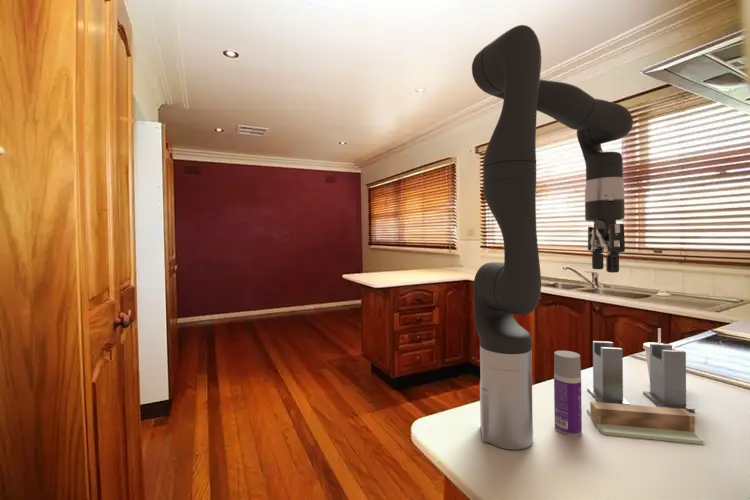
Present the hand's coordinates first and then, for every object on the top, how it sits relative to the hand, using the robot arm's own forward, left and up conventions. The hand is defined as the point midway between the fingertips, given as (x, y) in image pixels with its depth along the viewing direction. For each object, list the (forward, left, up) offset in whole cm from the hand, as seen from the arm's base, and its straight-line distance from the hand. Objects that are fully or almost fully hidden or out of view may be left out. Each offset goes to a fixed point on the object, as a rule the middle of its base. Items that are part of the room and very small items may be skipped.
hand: (604, 270), depth 80 cm
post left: (+1, +2, -30) cm, 30 cm away
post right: (+13, +2, -30) cm, 33 cm away
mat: (+2, -11, -30) cm, 32 cm away
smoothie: (+17, +14, -30) cm, 37 cm away
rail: (+2, -11, -30) cm, 32 cm away
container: (-12, -15, -30) cm, 36 cm away
